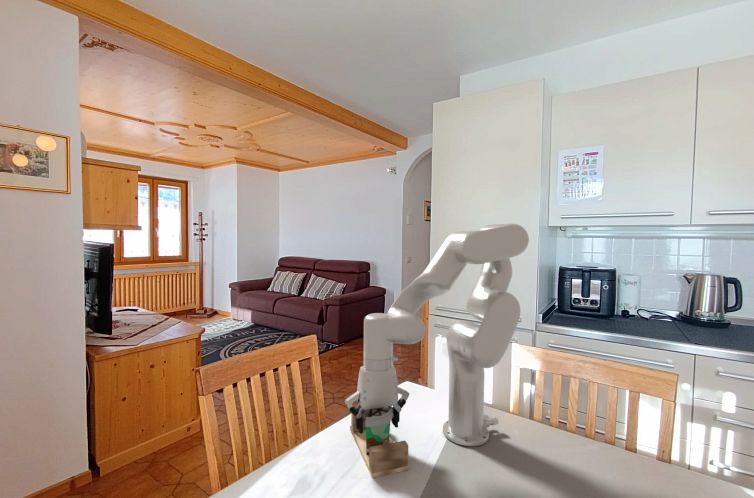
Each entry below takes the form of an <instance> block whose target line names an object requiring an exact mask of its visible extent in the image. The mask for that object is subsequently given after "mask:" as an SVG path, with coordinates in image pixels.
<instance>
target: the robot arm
mask: <svg viewBox="0 0 754 498" xmlns="http://www.w3.org/2000/svg"><path fill="white" fill-rule="evenodd" d="M529 243H530V239H529V234H528V231H527V230H526V228H525V227H523V226H522V225H519V224H517V223H500V224H488V225H484V226H481V227H480V228H479V229H478V230H471V231H470V230H469V231H467V230H466V231H465V230H464V231H463V230H462V231H455V232H452V233H450V234H449V235H448V236H447V237H446V238H445V239H444V241H443V243H442V244H441V245H440V247H439V248H438V249H437V251H436V253H434V256H433V257H432V259H431V260H430V262H429V263H428V265H427V266H426V268H425V269H424V270H423V272H422V273H420V275H418V276H417V277H416V278H415V279H414V280H413V281H411V282H410V283H409V284H408V285H407V286H406V287H405V288H403V290H402V291H401V292H400V293H399V294H398V295H397V297H396V298H395V300H394V301H393V303H392V304H391V306H390V307H389V309H388V311H387V312H386V313H383V312H374V313H373V312H372V313H369V314H367V315H366V316H364V318H363V365H362V366H360V368H359V372H358V379H357V380H358V381H357V386H356V387H357V388H356V390H357V391H355V392H354V393H353V394H351V395H350V396H348V397H347V398H346V399H344V403H345V405H346V407H347V408H348V411H349V412H350V413H352V414H354V415H355V426H356V429H358V431H359V433H360V434H362V433H363V418H362V415H363V413H364V412H365V410H369V409H376V408H383V407H389V406H392V410H393V418H392V419H391V421H390V423H391V424H392V425H393V426H394V428H399V422H400V419H401V418H400V416H401V415H400V413H401V411H402V408H404V406H405V404H406V403H407V400H408V398H409V396H410V392H409V391H408V390H406V389H403V388H402V387H399V385H398V378H397V371H396V367H395V365H394V363H396V362H398V358H399V357H398V356H397V355H394V354H393V353H394V352H393V351H394V344H403V345H413V344H417V343H419V342H420V341H422V340H423V338H425V334H426V330H427V329H426V325H425V323H424V321H423V320H422V319H421V318H420V316H418V315H416V313H417V312H418V311H419V310H420V308H421V307H422V306H423V305H424V304H425V303H427V302H428V301H430V300H432V299H434V298H436V297H439V296H442V295H445V294H446V293H448V292H449V291H451V289H452V287H453V286H454V284H455V283H456V281H457V280H458V278H459V277H460V275H461V274H462V272H463V271H464V269H466V266H467V265H468V264H470V265H481V267H480V268H481V269H480V271H479V274H478V277H477V278H476V281H475V283H474V286H473V287H472V289H471V291H470V294H469V296H468V298H467V302H466V311H467V313H468V314H469V315H470V316H471V317H472V318H474V319H476V320H477V321H480V322H481V323H480V325H479V324H478V323H474V322H472V321H470V320H458V321H456V322H454V323H453V324H451V326H450V327H449V328H448V331H447V332H446V333H447V335H446V347H447V353H448V366H449V368H448V370H449V373H448V374H449V375H448V377H449V379H448V420H447V421H445V422H444V423H443V424H442V425H443V426H442V433H443V435H444V436H445V437H446V438H447V439H448V440H449V441H451V442H452V443H454V444H457V445H460V446H463V447H464V446H466V447H478V446H482V445H485V444H486V443H487V442H488V441H489V439H490V431H489V430H488V428H489V427H490V426H497V425H499V419H498V418H497V417H496V416H493V417H489V415H488V414H485V413H484V412H485V409H484V408H485V407H484V406H485V405H484V403H485V369H490V368H493V367H495V366H497V365H498V364H499V363H500V362H501V360H502V359H503V358H504V355H505V354H506V351H507V349H508V348H509V345H510V343H511V341H512V339H513V336H514V335H515V334H514V333H515V331H516V329H517V328H518V325H519V322H520V319H521V305H520V302H519V300H518V298H517V297H516V296H515V295H513V294H512V293H510V292H509V291H508V288H509V287H510V286H509V285H510V284H511V280H512V277H513V266H512V263H511V262H512V261H511V258H514V257H517V256H519V255H521V254H522V253H524V252H525V251H526V249H527V248H528V246H529ZM399 395H401V397H400V398H399ZM356 401H357V403H358V404H357V405H356V407H355V405H353V403H355V402H356Z"/></svg>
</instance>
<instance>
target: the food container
mask: <svg viewBox="0 0 754 498" xmlns="http://www.w3.org/2000/svg"><path fill="white" fill-rule="evenodd" d="M392 407H393V406H389V407H383V408H376V409H370V412H369V415H368V417H366V420H365V427H366V455H369V447H373V446H378V445H384V444H389V436H390V432H391V419H392V418H393V410H392Z"/></svg>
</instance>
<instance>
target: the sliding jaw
mask: <svg viewBox="0 0 754 498" xmlns="http://www.w3.org/2000/svg"><path fill="white" fill-rule="evenodd" d="M369 412H370V409H369V410H365V412H364V413H363V415H362V418H363V430H365V429H366V427H365V420H366V417H368V415H369ZM350 413H351V412H350ZM350 416H351V418H350V419H351V421H350V422H351V423H350V424H351V425H350V426H351V428H352V430H353V431H358V429H356V426H355V415H354V414H352V413H351V415H350Z"/></svg>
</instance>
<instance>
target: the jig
mask: <svg viewBox="0 0 754 498" xmlns="http://www.w3.org/2000/svg"><path fill="white" fill-rule="evenodd" d="M349 431H350V432H351V435H352V436H353V439H354V441H355V443H356V446H357V449H358V451H359V453H360V455H361V457H362V459H363V461H364V463H365V466H366V468H367V470H368V473H369V475H370V477H371V479H372V478H377V477H382V476H386V475H391V474H396V473H401V472H406V471H408V470H409V444H408V442H407V441H406V440H400V441H395V442H394V441H393V440H392V438H391V436H390V435H389V444H384V445H378V446H373V447H369V455H366V429H365V430H363V433H362V434H360V433H359V431H353V430H352V428H351V425H350V426H349Z"/></svg>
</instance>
